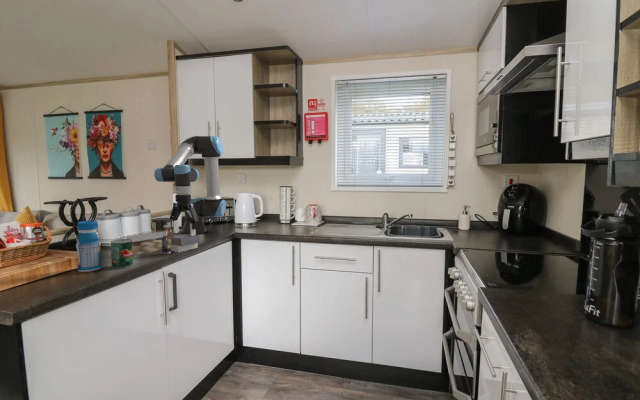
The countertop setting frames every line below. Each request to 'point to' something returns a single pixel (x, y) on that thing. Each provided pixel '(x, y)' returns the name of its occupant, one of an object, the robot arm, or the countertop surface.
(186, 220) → the robot arm
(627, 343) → the countertop surface
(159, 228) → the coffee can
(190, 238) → the grey rectangular block
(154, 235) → the latch lever
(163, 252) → the lever post
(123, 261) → the canned tomato
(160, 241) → the hand plane
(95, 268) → the beverage bottle
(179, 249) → the block
